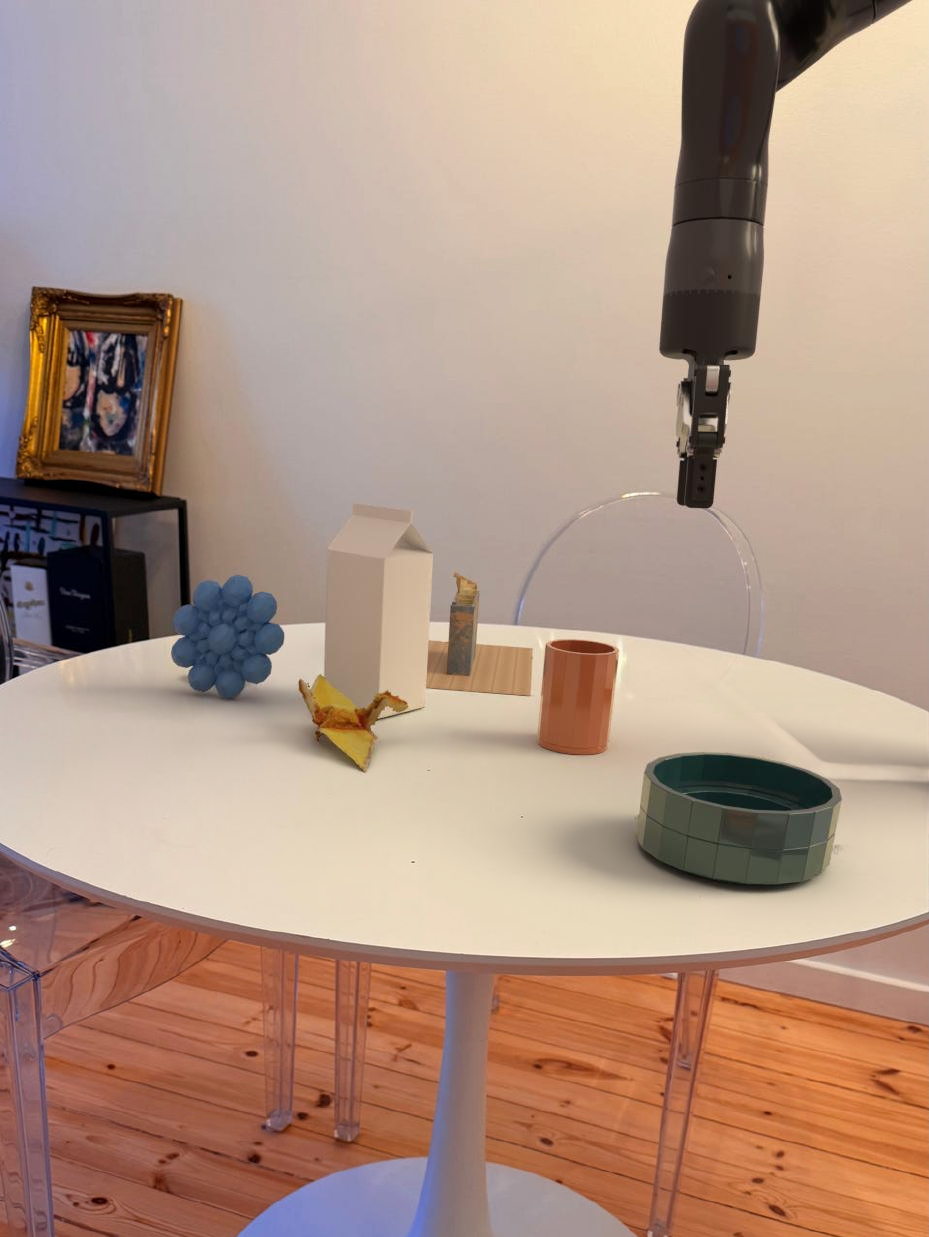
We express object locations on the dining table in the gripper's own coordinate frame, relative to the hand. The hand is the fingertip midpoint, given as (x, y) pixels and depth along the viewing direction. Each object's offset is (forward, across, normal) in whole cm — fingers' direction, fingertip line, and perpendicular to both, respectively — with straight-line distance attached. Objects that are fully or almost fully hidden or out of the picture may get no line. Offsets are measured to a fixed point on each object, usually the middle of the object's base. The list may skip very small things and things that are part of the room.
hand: (693, 506), depth 94 cm
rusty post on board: (+19, +32, +22) cm, 43 cm away
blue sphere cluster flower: (+20, +9, +42) cm, 48 cm away
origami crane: (+21, -3, +29) cm, 36 cm away
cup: (+21, +3, +9) cm, 23 cm away
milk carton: (+20, +9, +28) cm, 36 cm away
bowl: (+23, -21, -3) cm, 32 cm away
